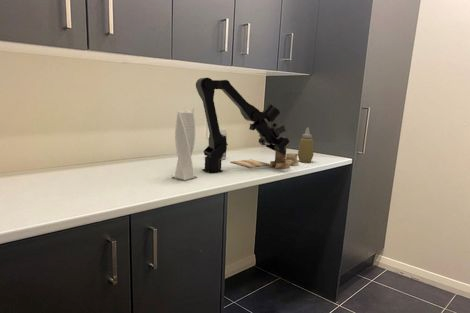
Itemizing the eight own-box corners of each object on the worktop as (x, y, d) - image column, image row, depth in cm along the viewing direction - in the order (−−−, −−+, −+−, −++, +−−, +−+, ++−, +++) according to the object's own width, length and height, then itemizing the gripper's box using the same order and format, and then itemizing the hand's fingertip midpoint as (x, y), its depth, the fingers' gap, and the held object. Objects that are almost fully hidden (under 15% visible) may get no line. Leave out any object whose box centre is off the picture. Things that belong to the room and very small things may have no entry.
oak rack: (277, 169, 154) (277, 163, 154) (270, 166, 160) (270, 161, 159) (289, 168, 157) (290, 163, 157) (282, 165, 163) (282, 160, 162)
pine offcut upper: (293, 160, 162) (293, 154, 161) (285, 159, 164) (286, 153, 164) (297, 159, 165) (297, 153, 165) (289, 158, 167) (290, 152, 167)
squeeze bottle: (305, 163, 170) (308, 128, 167) (293, 161, 176) (296, 126, 173) (316, 162, 175) (319, 128, 171) (304, 159, 181) (307, 126, 178)
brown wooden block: (277, 168, 156) (279, 147, 154) (274, 166, 159) (275, 146, 157) (285, 167, 158) (286, 146, 156) (281, 166, 160) (282, 145, 159)
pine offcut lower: (289, 166, 162) (290, 160, 161) (284, 164, 166) (284, 158, 166) (298, 166, 164) (298, 160, 164) (292, 164, 169) (292, 158, 168)
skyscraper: (200, 178, 130) (202, 106, 125) (185, 182, 123) (187, 105, 118) (183, 174, 135) (185, 104, 130) (169, 178, 128) (170, 104, 123)
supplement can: (207, 159, 170) (208, 129, 168) (213, 156, 178) (214, 128, 175) (222, 160, 168) (224, 131, 165) (228, 158, 176) (229, 129, 173)
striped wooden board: (249, 167, 154) (249, 167, 154) (230, 162, 164) (230, 161, 164) (270, 164, 163) (270, 164, 163) (250, 160, 173) (250, 159, 173)
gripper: (287, 119, 144) (306, 144, 151) (265, 116, 161) (283, 138, 167) (270, 137, 142) (290, 162, 149) (250, 132, 159) (268, 154, 165)
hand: (283, 153), depth 158 cm, fingers closed on brown wooden block, 3 cm apart
